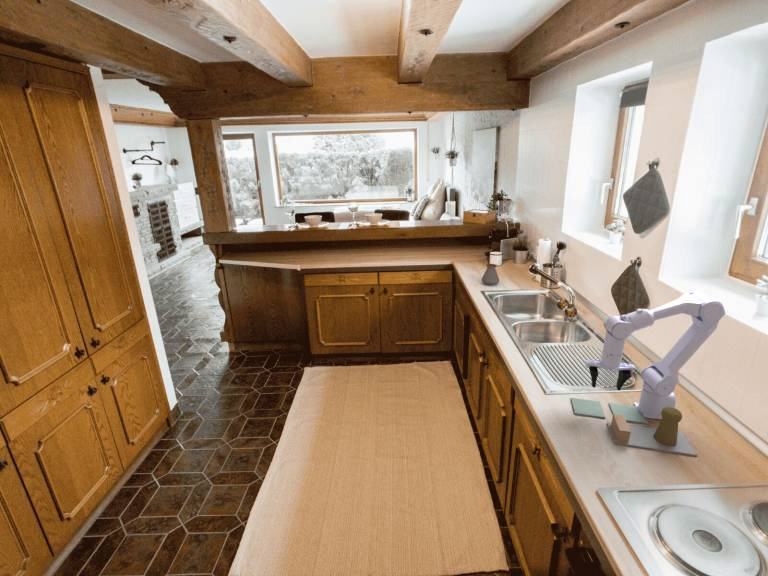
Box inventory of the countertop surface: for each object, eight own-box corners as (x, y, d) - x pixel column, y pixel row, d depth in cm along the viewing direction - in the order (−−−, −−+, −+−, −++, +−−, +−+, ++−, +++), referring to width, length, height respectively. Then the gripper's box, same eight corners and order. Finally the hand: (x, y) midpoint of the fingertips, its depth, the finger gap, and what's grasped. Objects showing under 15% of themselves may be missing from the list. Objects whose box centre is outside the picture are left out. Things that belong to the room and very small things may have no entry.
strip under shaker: (683, 434, 128) (686, 422, 126) (696, 456, 119) (700, 444, 117) (606, 423, 134) (609, 411, 132) (614, 444, 125) (617, 431, 123)
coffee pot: (500, 286, 260) (502, 264, 255) (482, 286, 260) (484, 264, 255) (493, 276, 280) (495, 255, 275) (477, 276, 280) (478, 255, 275)
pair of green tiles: (638, 407, 141) (639, 406, 141) (647, 424, 133) (647, 422, 133) (570, 399, 146) (570, 397, 146) (574, 414, 138) (575, 413, 138)
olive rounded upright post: (667, 432, 128) (675, 403, 124) (681, 446, 122) (690, 416, 119) (649, 433, 128) (656, 404, 124) (661, 446, 122) (669, 416, 118)
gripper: (591, 355, 130) (584, 391, 135) (641, 360, 127) (633, 396, 132) (586, 345, 137) (580, 379, 141) (634, 349, 133) (626, 384, 138)
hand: (605, 387), depth 137 cm, fingers open, 7 cm apart
